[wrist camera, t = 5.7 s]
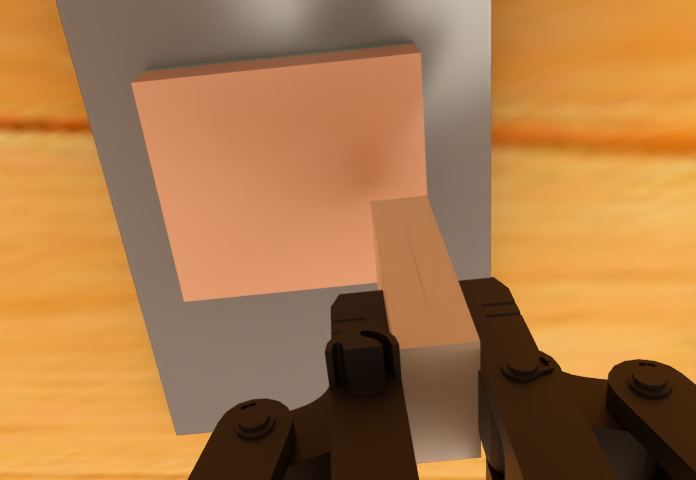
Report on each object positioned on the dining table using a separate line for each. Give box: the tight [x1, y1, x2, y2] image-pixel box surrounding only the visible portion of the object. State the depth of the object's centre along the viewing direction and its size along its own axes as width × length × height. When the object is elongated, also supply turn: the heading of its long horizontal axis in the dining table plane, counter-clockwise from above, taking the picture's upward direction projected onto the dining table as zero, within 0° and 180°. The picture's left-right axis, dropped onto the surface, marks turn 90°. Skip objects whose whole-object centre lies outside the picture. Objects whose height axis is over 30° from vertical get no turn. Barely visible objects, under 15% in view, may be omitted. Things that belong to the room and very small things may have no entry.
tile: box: [131, 41, 427, 302], centre depth 23 cm, size 8×2×9 cm
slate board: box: [56, 0, 491, 436], centre depth 25 cm, size 24×14×1 cm, turn 5°
